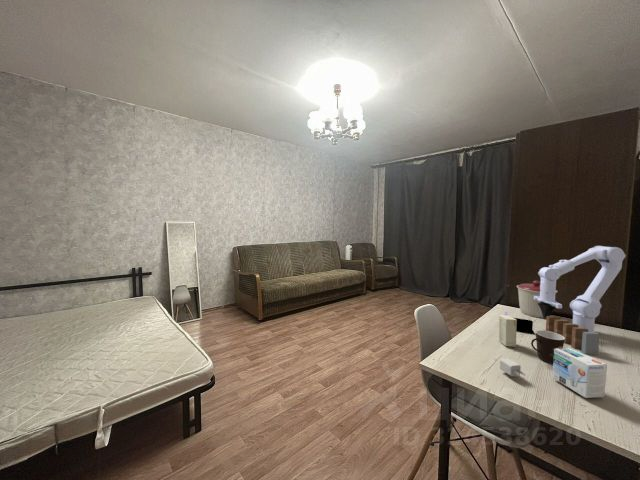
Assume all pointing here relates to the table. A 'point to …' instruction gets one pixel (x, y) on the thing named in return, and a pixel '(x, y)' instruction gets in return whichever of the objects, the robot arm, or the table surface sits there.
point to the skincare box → (507, 330)
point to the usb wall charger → (510, 367)
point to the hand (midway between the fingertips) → (546, 317)
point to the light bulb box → (579, 372)
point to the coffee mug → (547, 344)
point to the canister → (530, 299)
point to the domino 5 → (590, 343)
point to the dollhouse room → (524, 325)
